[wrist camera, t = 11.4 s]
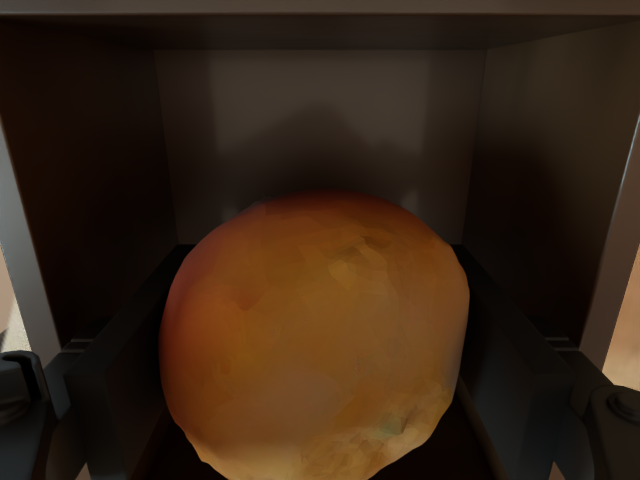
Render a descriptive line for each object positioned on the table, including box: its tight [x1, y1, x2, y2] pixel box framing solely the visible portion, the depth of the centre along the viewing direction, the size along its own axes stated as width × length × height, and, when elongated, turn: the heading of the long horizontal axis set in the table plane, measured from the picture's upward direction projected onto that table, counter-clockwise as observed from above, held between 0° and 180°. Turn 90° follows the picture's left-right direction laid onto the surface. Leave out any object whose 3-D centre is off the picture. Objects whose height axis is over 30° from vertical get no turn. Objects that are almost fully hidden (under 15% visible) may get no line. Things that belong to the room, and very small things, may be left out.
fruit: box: [158, 188, 470, 480], centre depth 12 cm, size 8×8×8 cm
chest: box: [0, 0, 640, 480], centre depth 15 cm, size 17×15×10 cm
